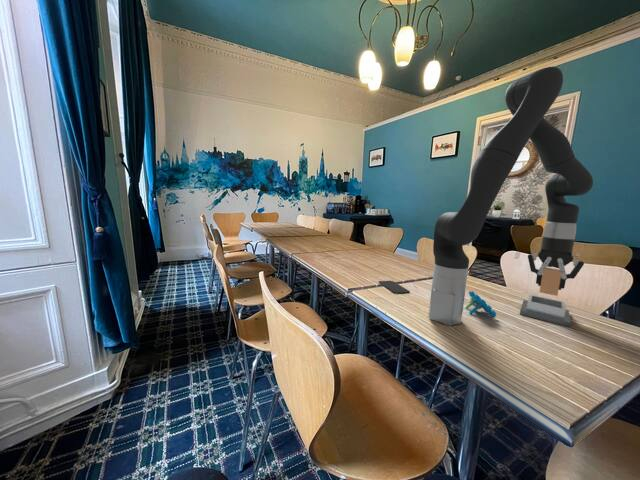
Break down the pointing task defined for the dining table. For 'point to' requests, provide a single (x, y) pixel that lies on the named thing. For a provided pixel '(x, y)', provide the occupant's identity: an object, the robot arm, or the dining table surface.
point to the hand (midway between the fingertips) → (549, 287)
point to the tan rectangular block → (550, 281)
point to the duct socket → (546, 310)
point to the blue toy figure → (479, 304)
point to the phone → (394, 287)
